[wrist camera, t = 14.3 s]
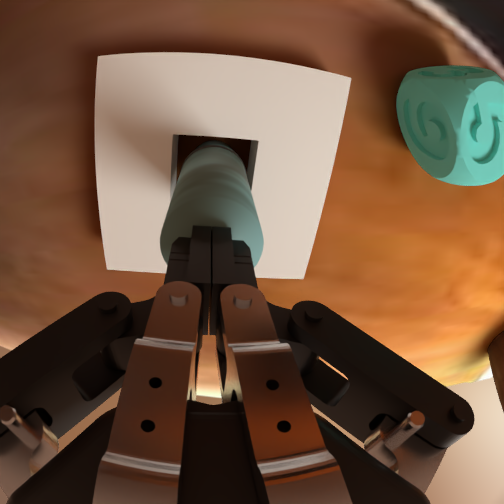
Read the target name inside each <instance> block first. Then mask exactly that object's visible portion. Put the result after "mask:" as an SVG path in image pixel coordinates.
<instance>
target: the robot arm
mask: <svg viewBox="0 0 504 504" xmlns="http://www.w3.org/2000/svg"><path fill="white" fill-rule="evenodd" d="M208 318H209V329H210V335H216V361H217V369H218V376H219V382H220V389H221V396H222V404H218V405H209V404H205V403H201V402H197V401H196V391H197V380H198V370H199V360H200V349H201V347H202V336H203V335H208ZM319 356H320V357H321V358H322V359H324V360H325V361H326V362H328V363H329V364H330V365H332V366H333V367H334V368H336V369H337V370H339V371H340V372H341V373H343V374H344V375H345V376H346V377H347V378H348V380H347V379H346V378H344V377H343V376H341V375H340V374H339V373H337V372H336V371H335V370H333V369H332V368H330V367H329V366H328V365H326V364H325V363H324V362H322V361H321V360H320V359H319ZM120 388H121V392H120V396H119V400H118V404H117V407H116V408H113V409H111V410H109V411H107V412H106V413H104V414H103V415H101V416H100V417H99V418H98V419H96V420H95V421H94V422H93V423H92V424H91V425H90V426H89V427H88V428H86V429H85V430H84V431H83V432H82V433H81V434H80V435H79V436H77V437H76V438H75V439H74V440H73V441H72V442H71V443H70V444H69V445H67V446H66V447H65V448H64V449H63V450H62V451H60V452H59V453H58V449H59V443H58V439H59V438H60V437H61V436H63V435H64V434H65V433H66V432H68V431H69V430H70V429H71V428H73V427H74V426H75V425H76V424H78V423H79V422H80V421H81V420H83V419H84V418H85V417H86V416H87V415H89V414H90V413H91V412H92V411H94V410H95V409H96V408H97V407H98V406H100V405H101V404H102V403H103V402H105V401H106V400H107V399H108V398H109V397H111V396H112V395H113V394H114V393H115V392H117V391H118V390H119V389H120ZM310 403H311V404H312V405H313V406H314V407H316V408H317V409H318V410H319V411H321V412H322V413H323V414H325V415H326V416H327V417H329V418H330V419H331V420H333V421H334V422H335V423H337V424H338V425H339V426H341V427H342V428H343V429H345V430H346V431H347V432H349V433H350V434H352V435H353V436H354V437H356V438H357V439H358V440H360V441H361V442H363V443H364V449H365V450H364V449H363V448H361V447H360V446H359V445H357V444H356V443H355V442H354V441H352V440H351V439H350V438H348V437H347V436H346V435H344V434H343V433H342V432H341V431H339V430H338V429H337V428H336V427H335V426H333V425H332V424H331V423H330V422H328V421H327V420H326V419H324V418H323V417H321V416H320V415H318V414H316V413H314V412H313V409H312V407H311V404H310ZM473 424H474V413H473V410H472V408H471V406H470V405H469V403H468V402H467V401H466V400H464V399H463V398H462V397H460V396H459V395H457V394H456V393H454V392H453V391H451V390H450V389H448V388H447V387H445V386H444V385H442V384H441V383H439V382H438V381H436V380H435V379H433V378H432V377H430V376H429V375H427V374H426V373H424V372H423V371H421V370H420V369H418V368H417V367H415V366H414V365H412V364H411V363H409V362H408V361H406V360H405V359H403V358H402V357H400V356H399V355H397V354H396V353H395V352H393V351H392V350H390V349H389V348H387V347H386V346H384V345H383V344H381V343H380V342H378V341H377V340H375V339H374V338H372V337H371V336H369V335H368V334H366V333H365V332H363V331H362V330H360V329H359V328H357V327H356V326H354V325H353V324H351V323H350V322H349V321H347V320H346V319H344V318H343V317H341V316H340V315H338V314H337V313H335V312H334V311H332V310H331V309H329V308H328V307H326V306H325V305H323V304H321V303H318V302H315V301H301V302H298V303H297V304H295V305H294V306H293V308H292V310H290V309H286V308H282V307H279V306H275V305H273V304H271V303H269V302H267V301H266V299H265V296H264V295H263V293H262V292H261V291H260V290H258V287H257V281H256V276H255V271H254V266H253V261H252V256H251V250H250V247H249V246H248V245H247V244H246V243H245V242H244V241H243V240H232V233H231V227H215V226H213V227H212V238H211V226H197V225H193V228H192V236H191V238H189V237H178V238H177V239H176V240H175V241H174V242H173V243H172V246H171V251H170V255H169V260H168V265H167V270H166V275H165V281H164V285H163V286H161V287H160V288H159V289H158V291H157V293H156V296H155V297H153V298H151V299H149V300H146V301H141V302H135V303H131V302H130V300H129V299H128V297H126V296H125V295H124V294H121V293H118V292H105V293H101V294H99V295H97V296H95V297H93V298H92V299H90V300H88V301H87V302H85V303H84V304H82V305H80V306H79V307H77V308H76V309H74V310H73V311H71V312H69V313H68V314H66V315H65V316H63V317H62V318H60V319H58V320H57V321H55V322H54V323H52V324H51V325H49V326H48V327H46V328H45V329H43V330H42V331H40V332H39V333H37V334H36V335H34V336H33V337H31V338H30V339H28V340H27V341H25V342H24V343H22V344H21V345H19V346H18V347H16V348H15V349H13V350H12V351H10V352H9V353H7V354H6V355H5V356H3V357H2V358H0V486H1V488H2V489H3V491H4V493H5V494H6V496H7V497H8V501H7V503H6V504H430V501H429V500H428V498H427V497H426V495H425V494H424V493H425V492H426V490H427V488H428V486H429V484H430V483H431V481H432V479H433V477H434V475H435V473H436V471H437V469H438V467H439V465H440V462H441V461H442V458H443V456H444V454H445V452H446V450H447V448H448V447H449V446H451V445H452V444H453V443H455V442H456V441H458V440H459V439H460V438H462V437H463V436H464V435H466V434H467V433H468V432H469V431H470V430H471V429H472V427H473ZM57 453H58V454H57Z"/></svg>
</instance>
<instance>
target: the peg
mask: <svg viewBox="0 0 504 504" xmlns="http://www.w3.org/2000/svg"><path fill="white" fill-rule="evenodd" d="M193 225H197V226H211V238H212V227H213V226H215V227H231V233H232V240H243V241H244V242H245V243H246V244H247V245H248V246H249V247H250V250H251V256H252V261H253V266H254V267H255V266H256V265H257V263H258V261H259V260H260V257H261V255H262V251H263V245H264V239H263V233H262V229H261V225H260V222H259V218H258V215H257V211H256V207H255V204H254V200H253V197H252V193H251V190H250V186H249V183H248V179H247V176H246V169H245V166H244V163H243V161H242V160H241V158H240V157H239V156H238V154H237V153H236V152H235V151H233V150H232V148H231V147H230V146H229V145H227V144H226V143H224V142H222V141H217V140H211V141H206V142H204V143H202V144H201V145H199V146H198V147H197V148H196V149H195V150H194V151H192V152H191V153H190V154H189V155H188V157H187V158H186V159H185V161H184V163H183V165H182V167H181V171H180V175H179V178H178V181H177V184H176V187H175V190H174V193H173V196H172V199H171V202H170V205H169V208H168V211H167V214H166V218H165V221H164V224H163V227H162V230H161V235H160V250H161V253H162V256H163V259H164V261H165V262H166V264H167V265H168V260H169V255H170V251H171V246H172V243H173V242H174V241H175V240H176V239H177V238H178V237H189V238H191V236H192V228H193Z"/></svg>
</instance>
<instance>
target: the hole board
mask: <svg viewBox="0 0 504 504" xmlns="http://www.w3.org/2000/svg"><path fill="white" fill-rule="evenodd" d="M350 83H351V78H349V77H345V76H342V75H338V74H334V73H330V72H326V71H322V70H318V69H313V68H309V67H304V66H299V65H294V64H289V63H283V62H277V61H271V60H264V59H257V58H250V57H241V56H232V55H221V54H207V53H183V52H152V53H128V54H115V55H104V56H98V61H97V74H96V90H95V163H96V181H97V194H98V205H99V215H100V224H101V232H102V239H103V246H104V253H105V259H106V266H107V269H109V270H123V271H139V272H155V273H166V270H167V264H166V262H165V261H164V259H163V256H162V253H161V250H160V235H161V230H162V227H163V224H164V221H165V218H166V214H167V211H168V208H169V205H170V202H171V199H172V196H173V193H174V190H175V187H176V175H177V155H178V138H179V135H197V136H213V137H226V138H237V139H248V140H251V146H250V153H249V160H248V168H247V175H246V176H247V179H248V183H249V186H250V190H251V193H252V197H253V200H254V204H255V207H256V211H257V215H258V218H259V222H260V225H261V229H262V233H263V239H264V245H263V251H262V255H261V257H260V260H259V261H258V263H257V265H256V266H255V267H254V271H255V276H256V278H283V279H303V278H304V275H305V271H306V268H307V264H308V261H309V257H310V254H311V250H312V247H313V243H314V239H315V236H316V232H317V228H318V224H319V220H320V217H321V213H322V209H323V205H324V201H325V197H326V193H327V189H328V185H329V181H330V177H331V172H332V168H333V164H334V159H335V155H336V151H337V146H338V142H339V137H340V132H341V128H342V123H343V118H344V113H345V108H346V103H347V98H348V93H349V88H350Z"/></svg>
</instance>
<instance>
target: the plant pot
mask: <svg viewBox="0 0 504 504" xmlns="http://www.w3.org/2000/svg"><path fill="white" fill-rule="evenodd" d="M488 354H489V360H490V365H491V369H492V374H493V378H494V382H495V385H496V389H497V393H498V396H499V399H500V402H501V405H502V409H503V411H504V331H503V332H502V333H501V334H500V335H498V336H497V337H496V338H495V339H494V341H493V342H492V343H491V344H490V346H489V348H488Z"/></svg>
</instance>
